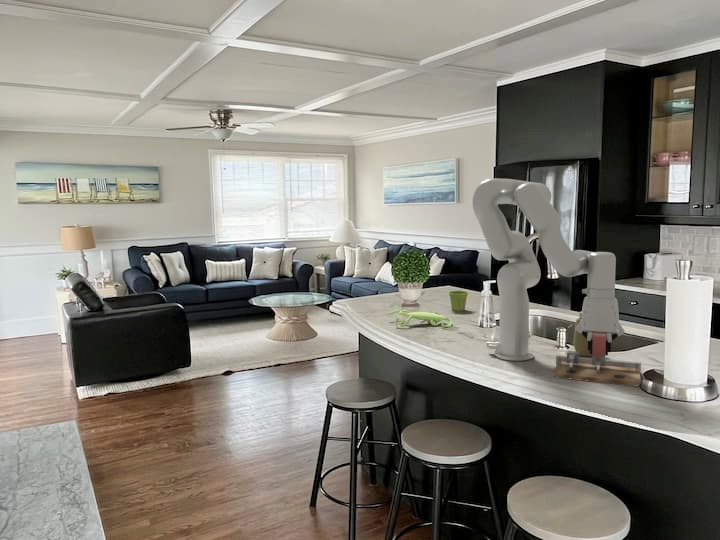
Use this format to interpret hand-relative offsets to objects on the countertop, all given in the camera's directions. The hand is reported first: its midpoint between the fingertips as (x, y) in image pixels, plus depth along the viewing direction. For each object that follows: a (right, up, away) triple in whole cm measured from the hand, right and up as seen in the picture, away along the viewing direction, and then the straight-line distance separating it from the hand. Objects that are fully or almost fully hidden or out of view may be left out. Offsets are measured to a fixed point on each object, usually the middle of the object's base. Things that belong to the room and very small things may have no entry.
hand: (599, 353), depth 169 cm
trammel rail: (-1, -5, -2) cm, 5 cm away
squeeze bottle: (+4, -4, +19) cm, 20 cm away
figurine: (-47, +1, +72) cm, 86 cm away
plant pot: (-25, +6, +99) cm, 102 cm away
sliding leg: (-1, -5, -2) cm, 5 cm away
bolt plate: (-2, -6, -2) cm, 7 cm away
